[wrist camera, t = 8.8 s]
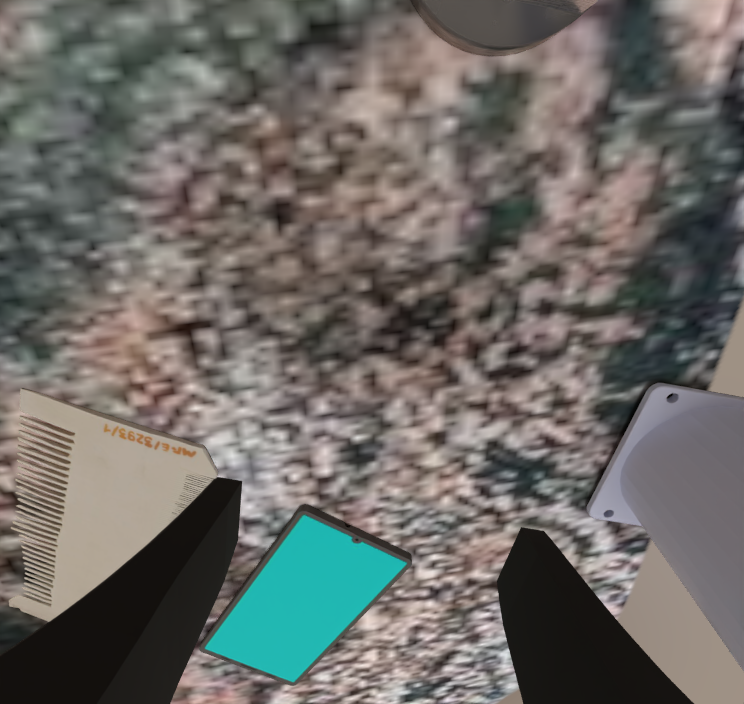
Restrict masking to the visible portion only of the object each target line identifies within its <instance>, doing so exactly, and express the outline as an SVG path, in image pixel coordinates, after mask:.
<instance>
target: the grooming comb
mask: <svg viewBox="0 0 744 704" xmlns="http://www.w3.org/2000/svg"><path fill="white" fill-rule="evenodd" d="M20 411H22V412H23V413H26V414H28V415H30V416H33V417H35V418H38V419H40V420H43V421H45V422H48V423H50V424H53V425H55V426H58V427H60V428H63V429H66V430H68V431H71V432H73V433H71V432H68V431H65V430H63V429H59V428H56V427H53V426H51V425H48V424H45V423H42V422H39V421H36V420H33V419H30V418H27V417H23V416H20V418H19V419H22V420H24V421H26V422H28V423H31V424H33V425H36V426H38V427H41V428H43V429H46V430H48V431H51V432H53V433H56V434H58V435H61V436H64V437H61V436H58V435H55V434H53V433H50V432H47V431H44V430H41V429H37V428H34V427H31V426H28V425H25V424H21V423H19V426H21V427H23V428H25V429H28V430H30V431H32V432H35V433H37V434H39V435H42V436H44V437H47V438H50V439H52V440H55V441H57V442H60V443H62V444H60V443H57V442H54V441H51V440H48V439H45V438H42V437H39V436H36V435H33V434H30V433H27V432H24V431H20V430H19V434H22V435H24V436H26V437H29V438H31V439H33V440H36V441H38V442H41V443H43V444H46V445H48V446H51V447H53V448H56V449H59V450H61V451H59V450H56V449H53V448H50V447H47V446H44V445H41V444H38V443H35V442H32V441H29V440H26V439H23V438H20V437H18V440H19V441H20V442H23V443H25V444H27V445H30V446H32V447H35V448H37V449H40V450H42V451H45V452H47V453H50V454H52V455H55V456H58V457H60V458H58V457H55V456H52V455H49V454H46V453H43V452H40V451H37V450H33V449H30V448H27V447H24V446H17V449H19V450H21V451H24V452H26V453H29V454H32V455H34V456H37V457H40V458H42V459H45V460H48V461H51V462H53V463H51V462H48V461H44V460H41V459H38V458H35V457H32V456H29V455H26V454H23V453H19V452H17V453H18V455H19V456H22V457H24V458H27V459H29V460H32V461H34V462H36V463H39V464H41V465H44V466H46V467H49V468H51V469H54V470H56V471H54V470H51V469H48V468H45V467H42V466H38V465H35V464H32V463H29V462H26V461H23V460H19V459H17V462H19V463H22V464H24V465H26V466H29V467H31V468H33V469H36V470H38V471H41V472H43V473H46V474H48V475H51V476H54V477H56V478H54V477H51V476H48V475H44V474H41V473H38V472H35V471H32V470H29V469H26V468H23V467H20V466H17V467H18V469H20V470H22V471H24V472H27V473H29V474H31V475H34V476H36V477H39V478H41V479H44V480H46V481H49V482H52V483H55V484H58V485H60V486H63V487H65V488H63V487H60V486H57V485H54V484H51V483H48V482H45V481H42V480H39V479H36V478H33V477H30V476H27V475H24V474H20V473H17V475H19V476H21V477H24V478H26V479H28V480H30V481H33V482H35V483H38V484H40V485H43V486H45V487H48V488H50V489H53V490H56V491H58V492H61V493H64V494H65V495H64V494H61V493H58V492H55V491H52V490H49V489H46V488H43V487H40V486H37V485H34V484H31V483H28V482H25V481H22V480H19V479H15V480H16V481H17V482H20V483H22V484H25V485H27V486H30V487H32V488H35V489H37V490H40V491H42V492H45V493H48V494H50V495H53V496H56V497H58V498H55V497H52V496H49V495H46V494H43V493H40V492H37V491H34V490H31V489H28V488H25V487H22V486H16V487H17V488H20V489H22V490H24V491H27V492H29V493H31V494H34V495H36V496H39V497H41V498H44V499H46V500H49V501H51V502H54V503H57V504H60V505H62V506H60V505H57V504H54V503H51V502H48V501H45V500H42V499H38V498H35V497H32V496H29V495H26V494H23V493H20V492H16V493H17V494H19V495H22V496H24V497H26V498H29V499H31V500H33V501H36V502H38V503H41V504H44V505H46V506H49V507H51V508H54V509H57V510H60V511H57V510H54V509H51V508H48V507H45V506H42V505H39V504H36V503H34V502H31V501H27V500H24V499H20V498H18V500H19V501H21V502H23V503H26V504H28V505H30V506H33V507H35V508H38V509H40V510H43V511H45V512H48V513H50V514H48V513H44V512H41V511H38V510H34V509H31V508H28V507H24V506H21V505H17V507H19V508H22V509H24V510H26V511H29V512H32V513H34V514H37V515H39V516H42V517H45V518H47V519H50V520H53V521H55V522H53V521H50V520H47V519H44V518H41V517H37V516H34V515H31V514H28V513H24V512H21V511H16V512H18V513H21V514H23V515H26V516H28V517H31V518H33V519H36V520H38V521H41V522H43V523H46V524H49V525H51V526H49V525H45V524H42V523H39V522H36V521H33V520H29V519H26V518H22V517H19V516H16V518H17V519H19V520H22V521H24V522H27V523H30V524H32V525H35V526H37V527H40V528H43V529H46V530H48V531H46V530H43V529H39V528H36V527H33V526H30V525H26V524H23V523H19V522H15V521H13V522H12V523H14V524H16V525H18V526H21V527H23V528H26V529H29V530H32V531H35V532H37V533H40V534H43V535H46V536H43V535H40V534H36V533H33V532H30V531H26V530H23V529H19V528H15V527H12V529H13V530H16V531H19V532H21V533H24V534H27V535H29V536H32V537H36V538H39V539H42V540H45V541H48V542H51V543H53V544H51V543H48V542H45V541H41V540H38V539H35V538H32V537H28V536H25V535H21V534H20V535H19V536H21V537H24V538H26V539H29V540H31V541H33V542H36V543H38V544H41V545H44V546H47V547H49V548H52V549H54V550H52V549H49V548H46V547H43V546H40V545H36V544H33V543H30V542H26V541H23V540H19V541H20V542H23V543H25V544H28V545H30V546H33V547H35V548H38V549H40V550H43V551H45V552H48V553H45V552H42V551H39V550H35V549H32V548H28V547H25V546H22V545H21V546H22V548H24V549H27V550H29V551H32V552H34V553H37V554H39V555H42V556H44V557H41V556H38V555H35V554H31V553H28V552H24V551H23V552H22V553H24V554H26V555H29V556H31V557H34V558H36V559H39V560H41V561H44V562H47V563H49V564H47V563H44V562H40V561H37V560H34V559H30V558H27V557H23V559H26V560H28V561H31V562H33V563H36V564H38V565H41V566H43V567H40V566H37V565H33V564H30V563H26V562H25V563H24V564H26V565H28V566H31V567H33V568H36V569H38V570H41V571H43V572H46V573H49V574H46V573H43V572H40V571H36V570H33V569H29V568H25V570H28V571H30V572H33V573H35V574H38V575H40V576H43V577H45V578H43V577H40V576H36V575H33V574H29V573H25V574H26V575H29V576H31V577H34V578H36V579H39V580H41V581H43V582H41V581H38V580H33V579H30V578H26V577H25V578H24V579H26V580H29V581H31V582H34V583H36V584H39V585H41V586H44V587H46V588H43V587H40V586H36V585H32V584H29V583H24V584H25V585H27V586H30V587H32V588H35V589H37V590H40V591H43V592H46V593H43V592H40V591H37V590H33V589H30V588H26V587H22V589H24V590H27V591H30V592H32V593H35V594H37V595H40V596H42V597H40V596H37V595H33V594H30V593H24V594H26V595H29V596H32V597H34V598H37V599H40V600H42V601H45V602H48V603H45V602H42V601H38V600H35V599H31V598H28V597H24V596H20V595H17V596H16V597H14V598H12V599H10V600H9V606H11V607H17V608H20V610H21V611H23V612H25V613H28V614H31V615H33V616H36V617H39V618H41V619H44V620H46V621H51V620H52V619H54V618H55V617H57V616H58V615H59V614H61V613H62V612H63V611H65V610H66V609H68V608H69V607H70V606H72V605H73V604H74V603H76V602H77V601H78V600H80V599H81V598H82V597H84V596H85V595H86V594H88V593H89V592H90V591H91V590H93V589H94V588H95V587H97V586H98V585H99V584H100V583H102V582H103V581H104V580H105V579H107V578H108V577H109V576H110V575H112V574H113V573H114V572H115V571H116V570H118V569H119V568H120V567H121V566H122V565H123V564H125V563H126V562H127V561H128V560H129V559H131V558H132V557H133V556H134V555H135V554H137V553H138V552H139V551H140V550H141V549H142V548H144V547H145V546H146V545H147V544H148V543H149V542H150V541H151V540H152V539H154V538H155V537H156V536H157V535H158V534H159V533H160V532H161V531H162V530H163V529H164V528H165V527H167V526H168V525H169V524H170V523H171V522H172V521H173V520H174V519H175V518H176V517H177V516H178V515H179V514H180V513H181V512H182V511H183V510H184V509H185V508H186V507H187V506H188V505H189V504H190V503H191V502H192V501H193V500H194V499H195V498H196V497H197V496H198V495H199V494H200V493H201V492H202V491H203V490H204V489H205V488H206V487H207V486H208V485H209V484H210V483H211V482H212V481H213V480H214V479H216V478H217V475H218V470H217V468H216V467H215V465H214V463H213V461H212V459H211V457H210V456H209V454H208V452H207V450H206V448H205V446H203V445H201V444H197V443H194V442H191V441H188V440H185V439H182V438H179V437H176V436H173V435H170V434H166V433H163V432H160V431H157V430H154V429H150V428H147V427H144V426H141V425H138V424H135V423H131V422H128V421H125V420H122V419H119V418H116V417H112V416H109V415H106V414H103V413H100V412H97V411H94V410H91V409H87V408H84V407H81V406H77V405H74V404H71V403H69V402H66V401H63V400H60V399H57V398H54V397H51V396H48V395H45V394H41V393H38V392H34V391H30V390H27V389H23V388H22V389H21V392H20ZM65 437H66V438H65ZM68 438H69V439H68ZM71 439H72V440H71ZM63 444H65V445H68V446H70V447H68V446H65V445H63ZM62 451H64V452H62ZM65 452H67V453H65ZM68 453H69V454H68ZM61 458H63V459H61ZM64 459H66V460H64ZM67 460H68V461H67ZM54 463H56V464H59V465H62V466H65V467H67V468H65V467H62V466H59V465H56V464H54ZM57 471H59V472H57ZM60 472H62V473H60ZM63 473H64V474H63ZM66 474H67V475H66ZM57 478H58V479H57ZM60 479H61V480H60ZM59 498H61V499H59ZM62 499H63V500H62ZM61 511H62V512H61ZM51 514H53V515H51ZM54 515H56V516H54ZM56 522H58V523H56ZM52 526H54V527H52ZM56 527H57V528H56ZM59 528H60V529H59ZM49 531H51V532H49ZM52 532H54V533H52ZM56 533H57V534H56ZM47 536H49V537H47ZM50 537H52V538H50ZM53 538H55V539H53ZM55 544H56V545H55ZM49 553H50V554H49ZM52 554H53V555H52ZM45 557H47V558H45ZM48 558H49V559H48ZM51 564H52V565H51ZM44 567H46V568H44ZM47 568H49V569H47ZM50 569H51V570H50ZM50 574H51V575H50ZM46 578H48V579H46ZM50 579H51V580H50ZM44 582H46V583H44ZM47 588H48V589H47ZM47 593H49V594H47ZM50 594H51V595H50ZM44 597H45V598H44ZM49 603H50V604H49Z"/></svg>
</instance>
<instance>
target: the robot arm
mask: <svg viewBox="0 0 744 704" xmlns="http://www.w3.org/2000/svg"><path fill="white" fill-rule="evenodd" d="M672 393H673V395H672V396H671V397H670V398H668V399H667V397H668V395H670V394H672ZM241 489H242V481H238V480H232V479H226V478H220V477H217V478H216V479H214V480H213V481H212V482H211V483H210V484H209V485H208V486H207V487H206V488H205V489H204V490H203V491H202V492H201V493H200V494H199V495H198V496H197V497H196V498H195V499H194V500H193V501H192V502H191V503H190V504H189V505H188V506H187V507H186V508H185V509H184V510H183V511H182V512H181V513H180V514H179V515H178V516H177V517H176V518H175V519H174V520H173V521H172V522H171V523H170V524H169V525H168V526H167V527H165V528H164V529H163V530H162V531H161V532H160V533H159V534H158V535H157V536H156V537H155V538H154V539H152V540H151V541H150V542H149V543H148V544H147V545H146V546H145V547H144V548H142V549H141V550H140V551H139V552H138V553H137V554H135V555H134V556H133V557H132V558H131V559H129V560H128V561H127V562H126V563H125V564H123V565H122V566H121V567H120V568H119V569H118V570H116V571H115V572H114V573H113V574H112V575H110V576H109V577H108V578H107V579H105V580H104V581H103V582H102V583H100V584H99V585H98V586H97V587H95V588H94V589H93V590H91V591H90V592H89V593H88V594H86V595H85V596H84V597H82V598H81V599H80V600H78V601H77V602H76V603H74V604H73V605H72V606H70V607H69V608H68V609H66V610H65V611H63V612H62V613H61V614H59V615H58V616H57V617H55V618H54V619H52V620H51V621H49V622H48V623H47V624H45V625H44V626H42V627H41V628H39V629H38V630H36V631H35V632H34V633H32V634H31V635H29V636H28V637H26V638H25V639H24V640H22V641H21V642H19V643H18V644H16V645H15V646H13V647H12V648H10V649H9V650H7V651H6V652H4V653H3V654H1V655H0V704H170V702H171V700H172V698H173V695H174V693H175V690H176V688H177V685H178V683H179V681H180V678H181V676H182V674H183V672H184V670H185V667H186V665H187V663H188V661H189V658H190V656H191V654H192V652H193V650H194V647H195V645H196V643H197V641H198V638H199V636H200V634H201V632H202V630H203V627H204V625H205V623H206V621H207V619H208V616H209V614H210V612H211V610H212V607H213V605H214V603H215V601H216V598H217V596H218V594H219V592H220V589H221V587H222V585H223V583H224V580H225V577H226V574H227V571H228V568H229V565H230V562H231V559H232V556H233V553H234V550H235V547H236V544H237V541H238V531H239V517H240V503H241ZM607 510H608V511H607ZM587 511H588V513H589V515H590V516H591V517H592V518H595V519H601V520H607V521H613V522H620V523H626V524H632V525H638V526H643V527H644V529H645V530H646V532H647V533H648V535H649V536H650V538H651V539H652V540H653V542H654V543H655V545H656V546H657V548H658V549H659V550H660V552H661V553H662V555H663V556H664V558H665V559H666V561H667V562H668V563H669V565H670V566H671V567H672V569H673V571H674V572H675V573H676V575H677V576H678V577H679V579H680V581H681V582H682V583H683V585H684V586H685V588H686V589H687V591H688V592H689V593H690V595H691V596H692V598H693V599H694V601H695V602H696V603H697V605H698V606H699V608H700V609H701V611H702V612H703V614H704V615H705V617H706V618H707V619H708V621H709V622H710V624H711V625H712V627H713V628H714V629H715V631H716V632H717V634H718V635H719V637H720V638H721V639H722V641H723V642H724V644H725V645H726V647H727V648H728V649H729V651H730V652H731V654H732V655H733V657H734V658H735V660H736V661H737V662H738V664H739V665H740V667H741V668H742V670H743V671H744V397H739V396H733V395H728V394H722V393H716V392H711V391H705V390H699V389H694V388H688V387H683V386H677V385H671V384H666V383H656V384H653V385H652V386H650V387H649V388H648V390H647V391H646V393H645V395H644V397H643V399H642V401H641V403H640V405H639V407H638V409H637V411H636V412H635V414H634V416H633V418H632V420H631V422H630V424H629V426H628V428H627V430H626V432H625V434H624V436H623V438H622V439H621V441H620V443H619V445H618V447H617V449H616V451H615V453H614V455H613V457H612V459H611V461H610V463H609V465H608V466H607V468H606V470H605V472H604V474H603V476H602V478H601V480H600V482H599V484H598V486H597V488H596V490H595V492H594V493H593V495H592V497H591V499H590V501H589V503H588V505H587ZM605 511H606V512H605ZM497 585H498V593H499V601H500V608H501V614H502V621H503V626H504V630H505V634H506V638H507V642H508V646H509V650H510V654H511V658H512V662H513V666H514V670H515V673H516V677H517V681H518V685H519V689H520V692H521V696H522V700H523V704H694V703H693V702H691V700H690V699H689V698H688V697H687V696H686V695H685V694H684V693H683V692H682V691H681V690H680V689H679V688H678V687H677V686H676V685H675V684H674V683H673V682H672V681H671V680H670V679H669V678H668V677H667V676H666V675H665V674H664V673H663V672H662V671H661V670H660V668H659V667H658V666H657V665H656V664H655V663H654V662H653V661H652V660H651V659H650V657H649V656H648V655H647V654H646V653H645V652H644V651H643V650H642V648H641V647H640V646H639V645H638V644H637V643H636V642H635V641H634V640H633V639H632V637H631V636H630V635H629V634H628V633H627V632H626V630H625V629H624V628H623V627H622V626H621V625H620V623H619V622H618V621H617V620H616V619H615V618H614V616H613V615H612V614H611V613H610V612H609V610H608V609H607V608H606V607H605V606H604V604H603V603H602V602H601V601H600V600H599V598H598V597H597V596H596V595H595V593H594V592H593V591H592V590H591V589H590V587H589V586H588V585H587V584H586V582H585V581H584V580H583V579H582V577H581V576H580V575H579V574H578V572H577V571H576V570H575V569H574V567H573V566H572V565H571V564H570V562H569V561H568V560H567V559H566V557H565V556H564V555H563V554H562V552H561V551H560V550H559V549H558V547H557V546H556V545H555V544H554V542H553V541H552V540H551V539H550V538H549V536H548V535H547V534H546V533H545V532H544V531H540V530H534V529H528V528H522V527H521V529H520V531H519V533H518V536H517V538H516V540H515V542H514V544H513V547H512V549H511V551H510V553H509V555H508V558H507V560H506V562H505V564H504V566H503V569H502V571H501V573H500V575H499V578H498V580H497Z"/></svg>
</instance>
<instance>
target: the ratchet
mask: <svg viewBox="0 0 744 704" xmlns="http://www.w3.org/2000/svg"><path fill="white" fill-rule="evenodd" d="M411 2H412V4H413V5H414V7H415V9H416V10H417V12H418V13H419V15H420V16H421V18H422V19H423V20H424V21H425V23H426V24H427V25H428V26H429V27H430V28H431V29H432V30H433V31H434V32H435V33H436V34H437V35H438V36H439V37H441V38H442V39H443V40H445V41H446V42H448V43H449V44H451V45H453V46H455V47H457V48H459V49H461V50H463V51H466V52H470V53H473V54H476V55H484V56H505V55H511V54H516V53H520V52H522V51H525V50H528V49H531V48H533V47H535V46H537V45H539V44H541V43H543V42H545V41H547V40H548V39H550V38H551V37H553V36H554V35H556V34H557V33H559V32H560V31H561V30H563V29H564V28H565V27H567V26H568V25H569V24H571V23H572V22H573V21H575V20H576V19H577V18H578V17H579V16H581V15H582V14H583V13H584V12H585V11H587V10H588V9H589V8H590V7H591V6H590V7H589V8H588V9H586V10H585V11H584V12H582V13H581V14H577V13H572V12H567V11H562V10H557V9H553V8H548V7H543V6H538V5H533V4H528V3H523V2H518V1H514V0H411Z"/></svg>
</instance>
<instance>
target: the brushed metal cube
mask: <svg viewBox="0 0 744 704" xmlns="http://www.w3.org/2000/svg"><path fill="white" fill-rule="evenodd" d="M514 1H518V2H523V3H528V4H533V5H538V6H543V7H548V8H553V9H557V10H562V11H567V12H572V13H577V14H581V13H582V12H584V11H585V10H586V9H588V8H589V7H590V6H592V5H593V4H594V3H596V2H597V1H598V0H514Z"/></svg>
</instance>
